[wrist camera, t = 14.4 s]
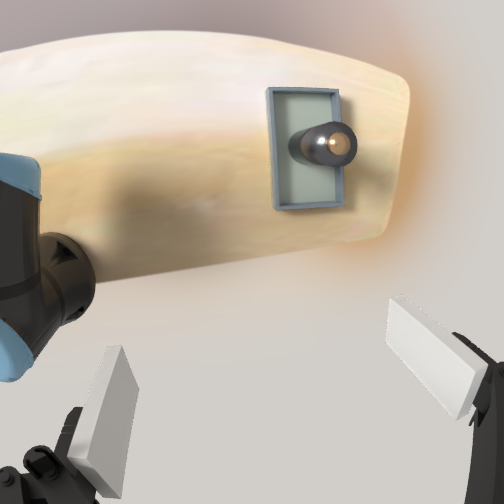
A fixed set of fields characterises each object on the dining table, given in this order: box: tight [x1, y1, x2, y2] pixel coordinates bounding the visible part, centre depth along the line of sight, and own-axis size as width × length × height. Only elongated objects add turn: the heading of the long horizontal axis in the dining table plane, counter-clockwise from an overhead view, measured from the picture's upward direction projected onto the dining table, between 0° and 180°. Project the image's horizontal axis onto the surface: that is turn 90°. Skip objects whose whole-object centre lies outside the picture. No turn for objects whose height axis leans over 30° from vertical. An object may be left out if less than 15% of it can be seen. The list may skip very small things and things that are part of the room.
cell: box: [288, 121, 357, 167], centre depth 36 cm, size 5×5×13 cm
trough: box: [265, 87, 344, 210], centre depth 42 cm, size 10×17×3 cm, turn 4°
